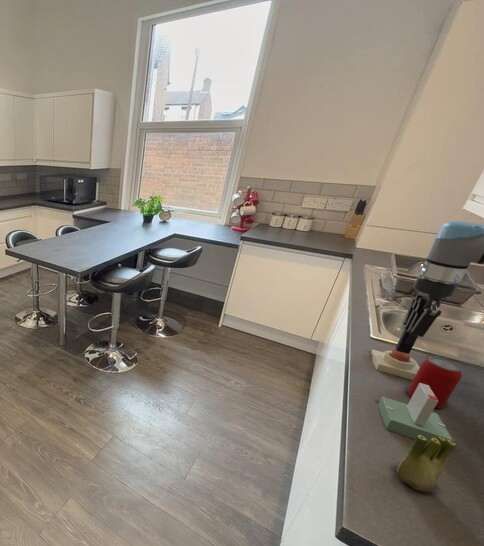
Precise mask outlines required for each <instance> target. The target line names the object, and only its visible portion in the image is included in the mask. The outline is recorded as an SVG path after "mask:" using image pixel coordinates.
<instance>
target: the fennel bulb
mask: <svg viewBox="0 0 484 546" xmlns="http://www.w3.org/2000/svg"><path fill="white" fill-rule="evenodd" d="M426 442H427V439H426V438H425V437H423V436H422V435H418V436H417V438H416V439H414V442H413V444H412V446H411V448H410V449H409V451H408V453H407V454H406V455H405V456H404V457H403V459H401V460H400V462H399V463H398V465H397V468H396V476H397V478H398V479H399V480H400V481H402V482H403V483H405V484H406V485H408V486H409V487H411V488H412V489H413V490H416V491H418V492H421V493H431V492H432V491H433V489H434V488H435V486H436V484H437V482H438V481H439V479H440V476H441V474H442V472H443V470H444V467H445V462H446V460H447V458H448V457H449V455H450V454H451V453H452V451H453V450H454V449H455V448H456V447H457V446H458V445H457V443H456V442H454V441H451V440H445V438H442V437H440V436H438V437H437V439H436V438H432V439H431V440H430V441H429V442H428V443H426Z"/></svg>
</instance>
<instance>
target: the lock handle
mask: <svg viewBox="0 0 484 546" xmlns="http://www.w3.org/2000/svg"><path fill="white" fill-rule="evenodd" d="M437 403H438V399H437V397H436V396H435V395H434V393H433V392H432V390H431V388H430V387H429V385H426V384H422V383H419V385H418V387H417V388H416V390H415V392H414V394H413V396H412V397H411V398H410V399H409V402H407V404H408V405H407V409H408V411H409V413H410V415H411V417H412V420H413V422H414V423H415V424H418V425H421V426H424V425H425V423H426V421H427V420H428V418H429V416H430V415H431V413H432V412H434V409H436V407H435V406H436V404H437Z"/></svg>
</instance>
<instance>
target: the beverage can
mask: <svg viewBox="0 0 484 546" xmlns="http://www.w3.org/2000/svg"><path fill="white" fill-rule="evenodd" d="M419 367H420V368H419V370H418V372H417V374H416V376H415V377H414V379H413V380H412V381H411V383H410V385H409V386H408V387H409V388H408V389H407V393H408V395H409V396H410V397H411V398H412V396H413V394H414V392H415V390H416V388H417V387H418V385H419V383H422V384H426V385H429V387H430V388H431V390H432V392H433V393H434V395H435V396H436V397H437V399H438V403H437V404H436V406H435V409H436V408H439V409H440V408H444V406H445V405H446V403H447V402H448V400H449V398H450V397H451V396H452V394H453V392H454V390H455V388H456V387H457V386H458V384H459V382H460V380H461V378H462V376H463V375H462V374H463V373H462V371H461V370H462V369H461V367H460V366H459V365H458V364H457V363H455V362H453V361H451V360H448V359H446V358H441V357H438V356H431V357H429V358H428V359H426V360H423V361H422V363H421V364H420V366H419Z"/></svg>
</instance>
